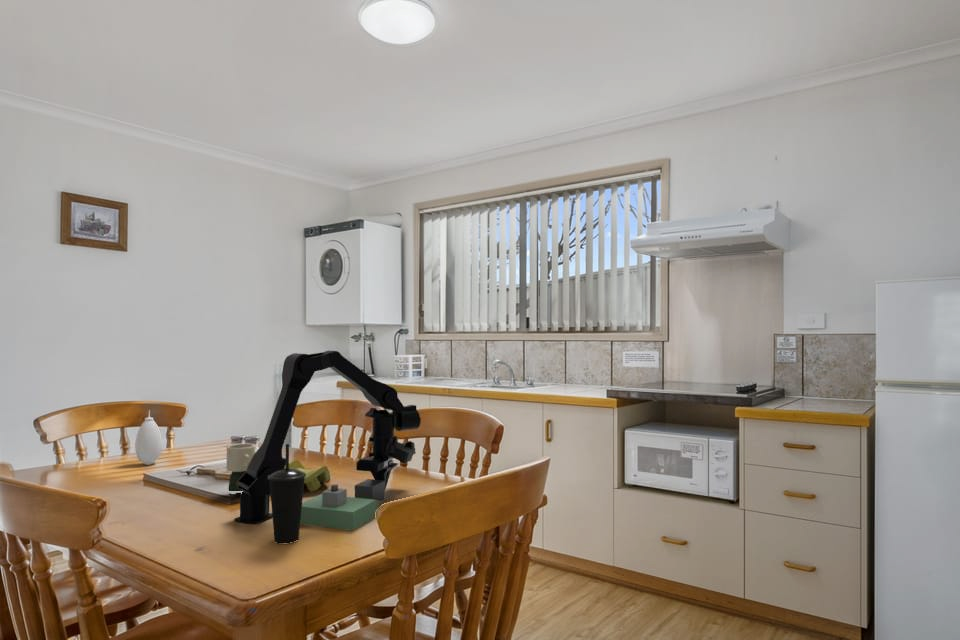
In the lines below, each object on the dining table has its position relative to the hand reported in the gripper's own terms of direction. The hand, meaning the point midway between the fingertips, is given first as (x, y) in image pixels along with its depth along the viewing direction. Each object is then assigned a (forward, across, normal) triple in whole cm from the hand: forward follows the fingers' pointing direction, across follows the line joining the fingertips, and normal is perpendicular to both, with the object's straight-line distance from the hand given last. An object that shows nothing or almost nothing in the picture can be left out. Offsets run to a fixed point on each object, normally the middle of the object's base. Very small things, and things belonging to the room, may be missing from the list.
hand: (382, 491), depth 164 cm
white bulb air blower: (+1, +9, +90) cm, 91 cm away
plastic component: (+1, +1, +26) cm, 26 cm away
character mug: (+1, -12, +36) cm, 38 cm away
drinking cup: (+1, -39, +2) cm, 39 cm away
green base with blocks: (+1, -20, 0) cm, 20 cm away
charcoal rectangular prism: (+1, -7, 0) cm, 7 cm away
